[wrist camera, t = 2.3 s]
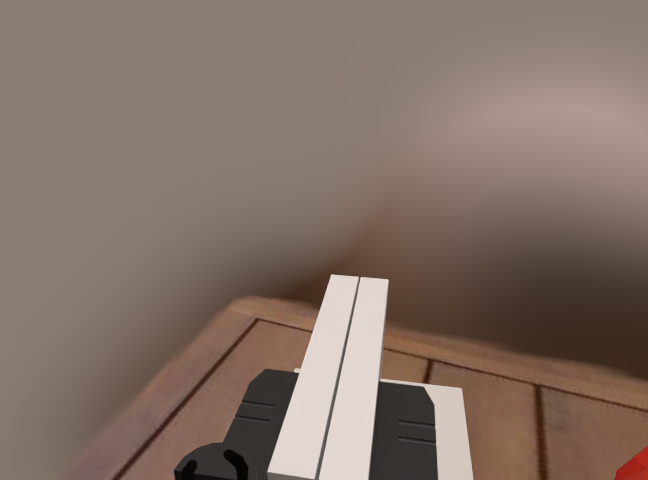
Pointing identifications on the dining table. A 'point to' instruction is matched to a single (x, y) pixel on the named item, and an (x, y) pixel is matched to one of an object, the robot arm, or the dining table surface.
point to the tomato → (635, 467)
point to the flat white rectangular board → (448, 431)
